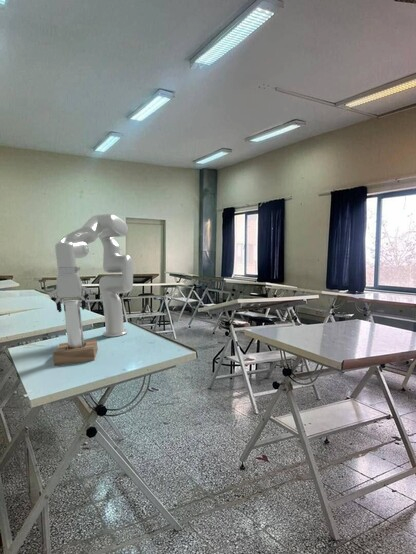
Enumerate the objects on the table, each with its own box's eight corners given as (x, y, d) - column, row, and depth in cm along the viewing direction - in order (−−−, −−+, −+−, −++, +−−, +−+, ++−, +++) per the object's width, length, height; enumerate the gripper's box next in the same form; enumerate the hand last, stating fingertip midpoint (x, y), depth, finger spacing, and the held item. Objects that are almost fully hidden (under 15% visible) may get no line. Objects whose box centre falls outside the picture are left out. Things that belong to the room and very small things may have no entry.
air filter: (81, 353, 169) (75, 299, 166) (88, 356, 164) (81, 300, 161) (67, 357, 164) (60, 301, 161) (74, 360, 160) (67, 302, 157)
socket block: (61, 354, 170) (60, 343, 170) (97, 349, 173) (96, 339, 173) (54, 365, 155) (52, 353, 154) (94, 360, 158) (93, 348, 157)
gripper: (89, 268, 165) (93, 306, 167) (47, 272, 162) (52, 311, 164) (87, 269, 158) (91, 309, 160) (44, 273, 155) (48, 314, 156)
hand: (71, 310), depth 162 cm, fingers open, 9 cm apart
